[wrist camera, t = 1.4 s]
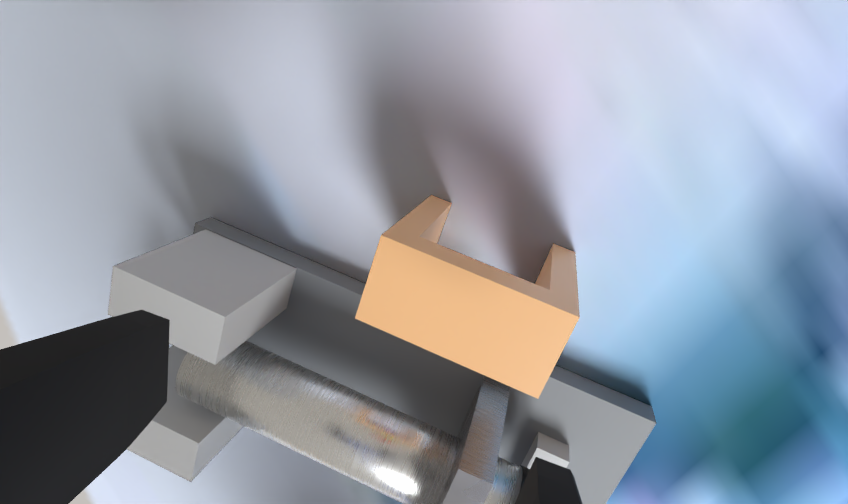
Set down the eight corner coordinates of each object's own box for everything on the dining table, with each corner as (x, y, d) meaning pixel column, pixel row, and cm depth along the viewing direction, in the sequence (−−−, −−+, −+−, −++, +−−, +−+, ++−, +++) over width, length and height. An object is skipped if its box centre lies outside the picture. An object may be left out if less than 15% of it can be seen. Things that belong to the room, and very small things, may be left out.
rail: (651, 406, 19) (684, 524, 14) (571, 537, 21) (573, 677, 16) (211, 217, 21) (99, 258, 16) (186, 355, 24) (83, 428, 19)
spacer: (431, 194, 19) (380, 235, 13) (575, 252, 18) (579, 317, 13) (409, 258, 19) (354, 318, 14) (545, 315, 19) (538, 398, 14)
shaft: (563, 409, 18) (564, 517, 14) (507, 515, 20) (490, 641, 16) (253, 273, 20) (160, 329, 15) (229, 383, 22) (139, 462, 17)
